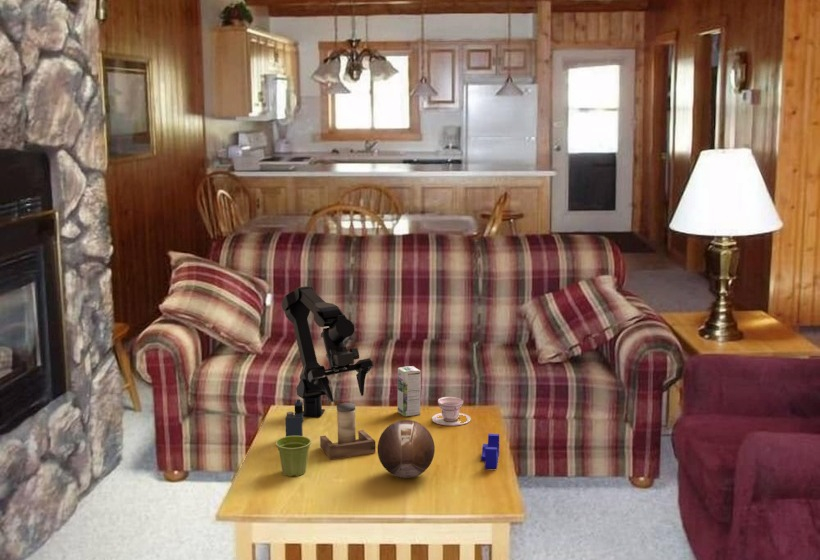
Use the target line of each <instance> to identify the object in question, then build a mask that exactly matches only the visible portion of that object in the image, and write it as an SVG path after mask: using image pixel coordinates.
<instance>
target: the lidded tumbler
mask: <svg viewBox="0 0 820 560" xmlns="http://www.w3.org/2000/svg"><path fill="white" fill-rule="evenodd" d="M336 414H337V416H336V417H337V442H338V445H339V444H346V443H352V442H356V440H357V438H356V437H357V435H356V404H355V403H352V402H342V403H338V404H337V405H336Z"/></svg>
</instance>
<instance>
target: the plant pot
mask: <svg viewBox="0 0 820 560" xmlns="http://www.w3.org/2000/svg"><path fill="white" fill-rule="evenodd" d="M311 444H312V440H311V438H309V437H307V436H304V435H303V436H287V437H286V436H283V437H280V438H278V439H277V440H276V441H275V445H276V447H277V450H278V452H279V458H280V464H281V471H282V474H283V475H284V476H288V477H293V476H297V477H300V476H302V474H303V475H304V474H305V473H306V471H307V464H308V463H307V462H308V453H309V449H310V445H311ZM299 475H300V476H299Z"/></svg>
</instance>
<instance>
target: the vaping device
mask: <svg viewBox="0 0 820 560" xmlns="http://www.w3.org/2000/svg"><path fill="white" fill-rule="evenodd" d="M303 411H304V409H303V401H301V399H299V398H298V399H296V401H295V402H294V412H293V411H287V412H286V415H285V419H284V421H285V437H287V436H304V434H303V431H304V430H303V423H304V416H303Z"/></svg>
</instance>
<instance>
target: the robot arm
mask: <svg viewBox="0 0 820 560" xmlns="http://www.w3.org/2000/svg"><path fill="white" fill-rule="evenodd" d="M281 307H282V310H283V311H284V314H285V317H286V319H288V320H289V322H291V323H292V326H293V330H294V334H295V339H296V344H297V348H298V352H299V356H300V360H301V364H302V369H301V372H300V374H299V382H298V383H297V386H296V388H295V390H296V395H297V396H298V397H299V398H301V399H302V400H303V401H302V403H303V417H307V418H308V417H309V418H320V417H322V416H323V414H324V413H325V410H326V409H325V408H322V407H323V406H322V405H323V403H322V402H323V401H322V400H323V399H322V396H327V398H328V399H329V401H330V402H331V403H332V402H334V397H333V393H332V390H331V387H330V380H329V377H328V376H333V375H338V374H345V373H349V372H355V371H356V372H357V373H356V374H355V375H356V381H357V384H358V390H359V393H360V396H361V397H363V396H364V394H365V384H366V383H365V380H366V377H367V374H368V373H369V372H370V371H371V370H372V369H373V368H374V367H375V365H374V361H373V359H371V358H370V357H369V358H364V359H360V353H359V349H358V347H351V348H350V349H349V350H348V348H347V346H346V344H345V341H347V340H348V339H349V338H350V337H351V336H353V334H354V333H355V324H354V323H353V322H352V321H351V320H350V319H349V318H348V317H347V316H346V315H345V314H344V313H343V311H342V310H341V309H340V307H339V306H338V305H336V304H334V303H331V302H326V301H325V300H324V299H322V297H320V295H318V293H316V292H315V291H314V288H313V287H312V286H309V285H307V286H298V287H296V288H294V289H293V291H291V292H289V293H288V294H286V295H285V296H284V297H283V298H282V300H281ZM310 312H311V313H312V314H313V321H314V323H315V324H316V325H317V326H318V328H319V327H320V328H322V332H321V333H320V338H322V340H323V344H324V348H325V353H326V354H325V357H326V358H327V361H328V365H329V368H328V369H326V367H325V366H324V365H321V364H319V362H318V359H317V355H316V350H315V347H314V342H313V341H314V340H313V338H312V333H311V330H310V329H311V328H310V325H309V321H308V318H309V315H310ZM358 359H359V360H358ZM355 360H357V361H356V363H355Z"/></svg>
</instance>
